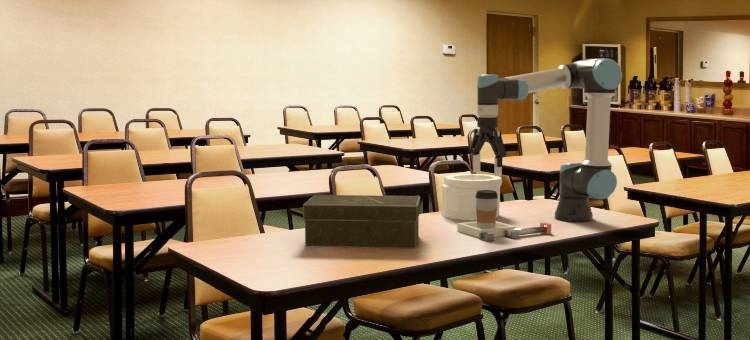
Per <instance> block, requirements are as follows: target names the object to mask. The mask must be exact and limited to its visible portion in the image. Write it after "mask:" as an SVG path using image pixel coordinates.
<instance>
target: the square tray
mask: <svg viewBox="0 0 750 340" xmlns="http://www.w3.org/2000/svg"><path fill="white" fill-rule="evenodd" d="M456 225H457V227H456V228H457V230H456V231H457V232H458V233H462V234H466V235H468V236H472V237H475V238H478V239H479V233H480V232H488V233H487V234H494V238H496V237H505V236H504V230H508V229H517V227H516V226H515V225H512V224H508V223H504V222H501V221H497V220H496V224H495V228H490V229H479V228H478V227H477V220H475V221H469V222H468V221H467V222H458V223H457V224H456Z"/></svg>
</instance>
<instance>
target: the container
mask: <svg viewBox="0 0 750 340" xmlns="http://www.w3.org/2000/svg"><path fill="white" fill-rule="evenodd" d="M502 185H503V177H502V176H494V174H493V175H492V174H486V173H485V174H483V173H482V174H481V173H461V174H460V173H459V174H458V173H457V174H451V175H446V176H444V177H443V184H442V185H441V209H440V211H441V213H440V214H441V216H442V217H444V218H447V219H450V220H451V219H453V220H456V219H461V220H462V221H477V213H476V198H475V197H476V194H477V191H479V190H493V191H497V194H498V198H497V212H496V219H497V218H498V217H499V216H500V206H501V204H500V202H501V200H500V198H501V193H500V192H501V186H502ZM461 220H460V221H461Z"/></svg>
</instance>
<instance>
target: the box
mask: <svg viewBox="0 0 750 340" xmlns="http://www.w3.org/2000/svg"><path fill="white" fill-rule="evenodd" d="M420 213H421V196H420V195H367V194H365V195H363V194H362V195H360V194H359V195H358V194H357V195H354V194H353V195H351V194H349V195H347V194H345V195H344V194H342V195H341V194H314V195H313V196H312V197H310V198H309V199H308V200H306V201H305V202H304V203H303V204H302V220H303V221H304V235H305V236H304V241H305V242H304V246H305V247H313V248H314V247H320V248H321V247H323V248H324V247H326V248H327V247H329V248H368V249H370V248H373V249H374V248H376V249H379V248H381V249H416V248H417V244H418V239H419V231H420V229H419V225H420V224H419V216H420Z"/></svg>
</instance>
